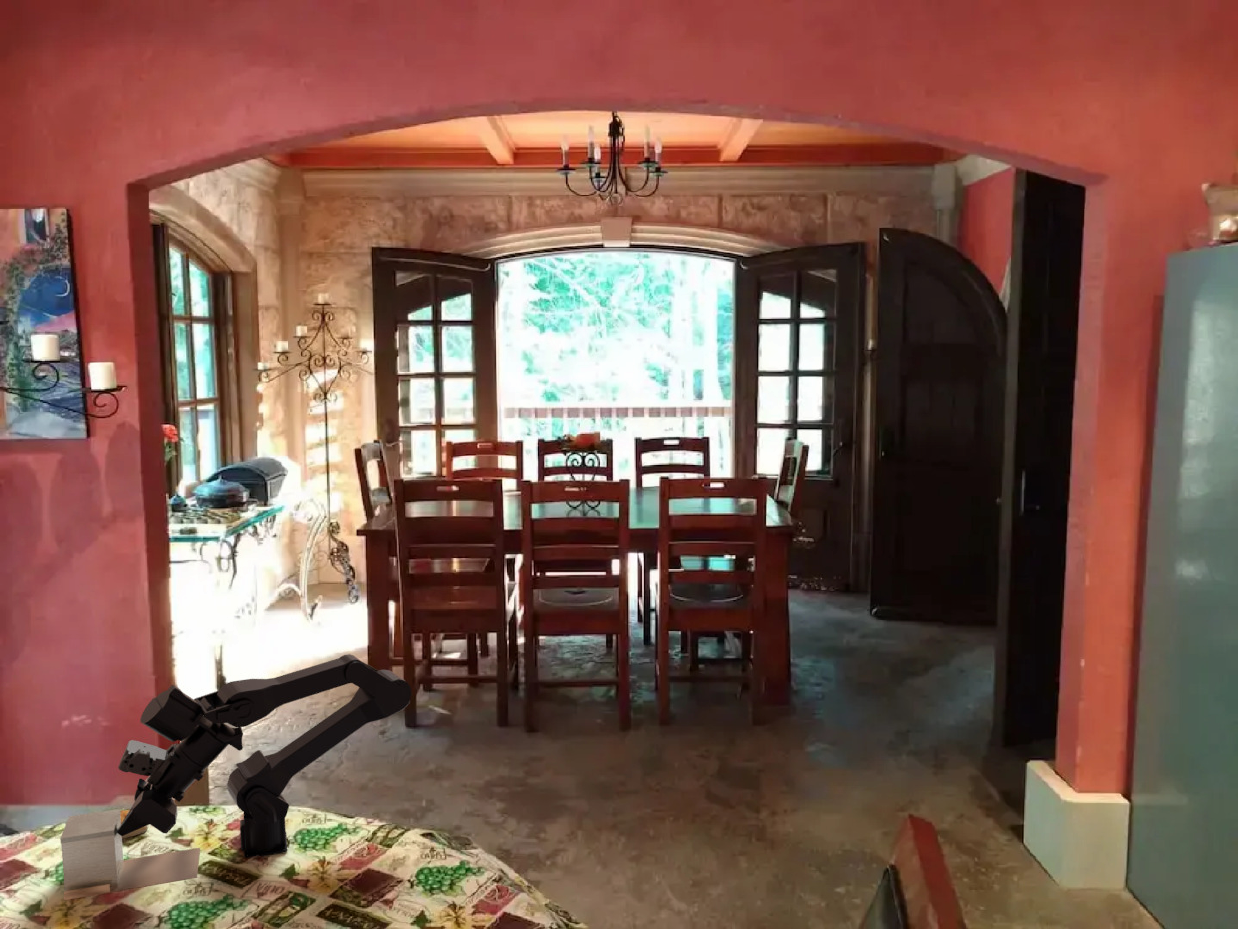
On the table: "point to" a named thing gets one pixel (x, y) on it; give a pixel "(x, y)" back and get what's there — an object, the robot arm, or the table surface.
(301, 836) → the table surface
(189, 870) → the board
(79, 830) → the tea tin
